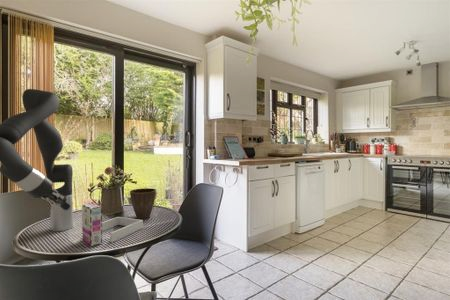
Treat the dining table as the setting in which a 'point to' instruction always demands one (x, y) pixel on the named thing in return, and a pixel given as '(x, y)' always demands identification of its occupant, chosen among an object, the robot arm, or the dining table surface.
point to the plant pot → (143, 202)
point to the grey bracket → (130, 227)
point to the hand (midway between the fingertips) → (67, 208)
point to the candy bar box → (92, 224)
